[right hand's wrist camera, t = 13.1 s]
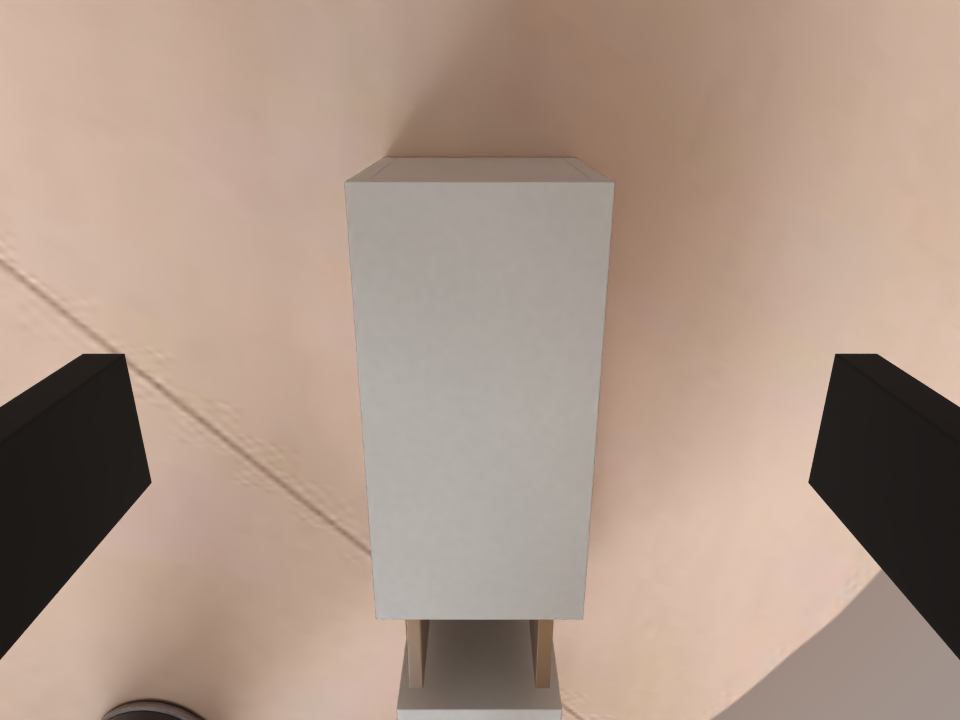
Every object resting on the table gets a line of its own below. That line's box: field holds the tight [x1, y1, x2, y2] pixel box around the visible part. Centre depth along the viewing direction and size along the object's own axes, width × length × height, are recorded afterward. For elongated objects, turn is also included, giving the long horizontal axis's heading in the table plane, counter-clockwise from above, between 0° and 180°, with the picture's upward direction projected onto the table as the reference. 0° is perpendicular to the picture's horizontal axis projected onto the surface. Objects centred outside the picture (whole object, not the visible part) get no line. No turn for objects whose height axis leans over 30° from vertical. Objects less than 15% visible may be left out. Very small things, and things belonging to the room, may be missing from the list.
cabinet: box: [345, 157, 615, 620], centre depth 34 cm, size 21×10×11 cm, turn 0°
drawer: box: [397, 620, 562, 720], centre depth 39 cm, size 26×9×9 cm, turn 0°
